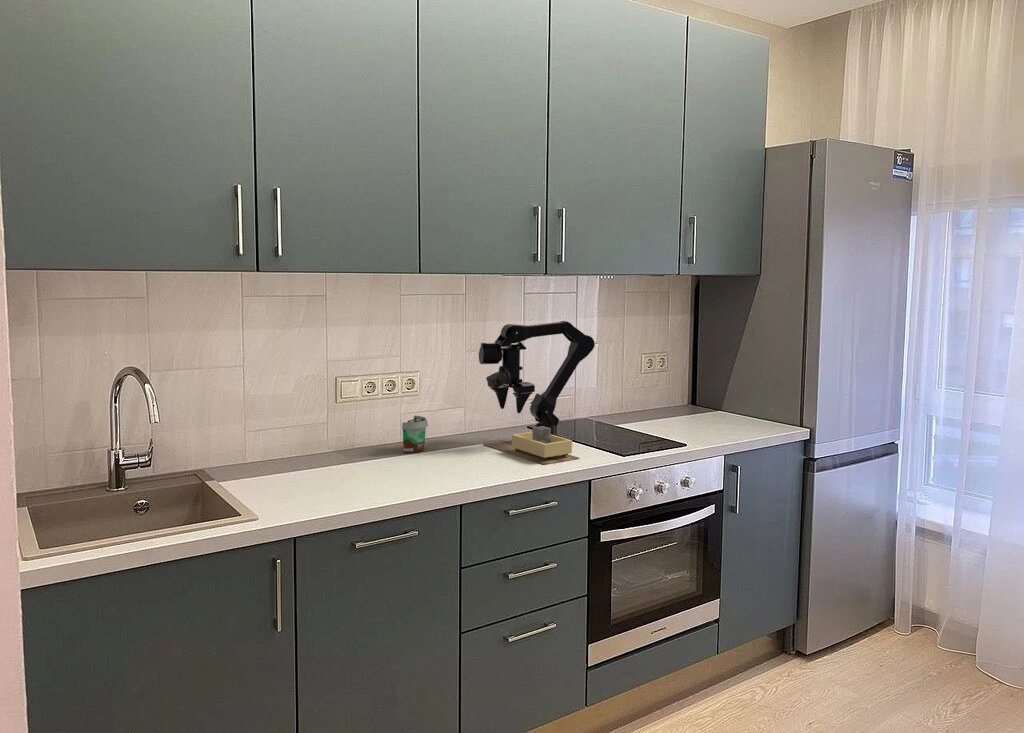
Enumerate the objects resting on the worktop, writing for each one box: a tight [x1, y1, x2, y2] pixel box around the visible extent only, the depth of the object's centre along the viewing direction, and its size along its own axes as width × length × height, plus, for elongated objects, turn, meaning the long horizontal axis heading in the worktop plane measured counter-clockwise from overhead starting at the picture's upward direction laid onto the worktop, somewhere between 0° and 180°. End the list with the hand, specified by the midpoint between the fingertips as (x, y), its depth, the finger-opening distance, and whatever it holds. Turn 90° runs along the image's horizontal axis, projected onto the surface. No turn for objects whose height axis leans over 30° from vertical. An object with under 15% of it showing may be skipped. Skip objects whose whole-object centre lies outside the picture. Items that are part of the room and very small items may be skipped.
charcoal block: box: [532, 426, 551, 444], centre depth 259 cm, size 4×4×6 cm
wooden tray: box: [511, 431, 573, 460], centre depth 259 cm, size 11×17×5 cm, turn 36°
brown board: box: [482, 439, 581, 466], centre depth 264 cm, size 14×32×1 cm, turn 36°
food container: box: [401, 415, 429, 455], centre depth 263 cm, size 12×6×10 cm, turn 168°
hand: (510, 410), depth 273 cm, fingers open, 9 cm apart
